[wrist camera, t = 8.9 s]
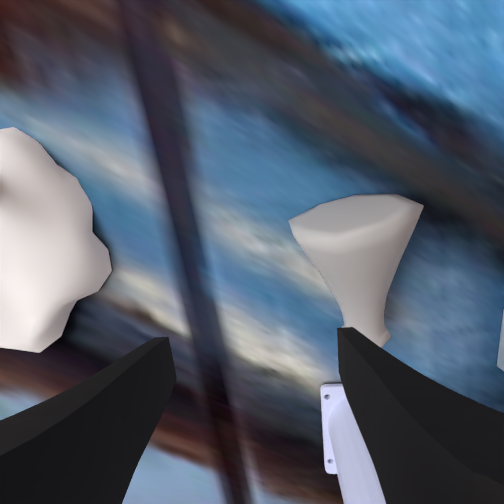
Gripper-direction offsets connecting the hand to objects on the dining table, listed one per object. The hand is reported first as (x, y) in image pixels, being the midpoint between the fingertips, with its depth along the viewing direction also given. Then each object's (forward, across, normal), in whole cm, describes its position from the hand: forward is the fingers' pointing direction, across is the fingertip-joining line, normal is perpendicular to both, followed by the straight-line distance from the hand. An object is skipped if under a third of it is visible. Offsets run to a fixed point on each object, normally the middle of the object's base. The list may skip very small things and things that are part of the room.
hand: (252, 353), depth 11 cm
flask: (+6, -6, -5) cm, 10 cm away
